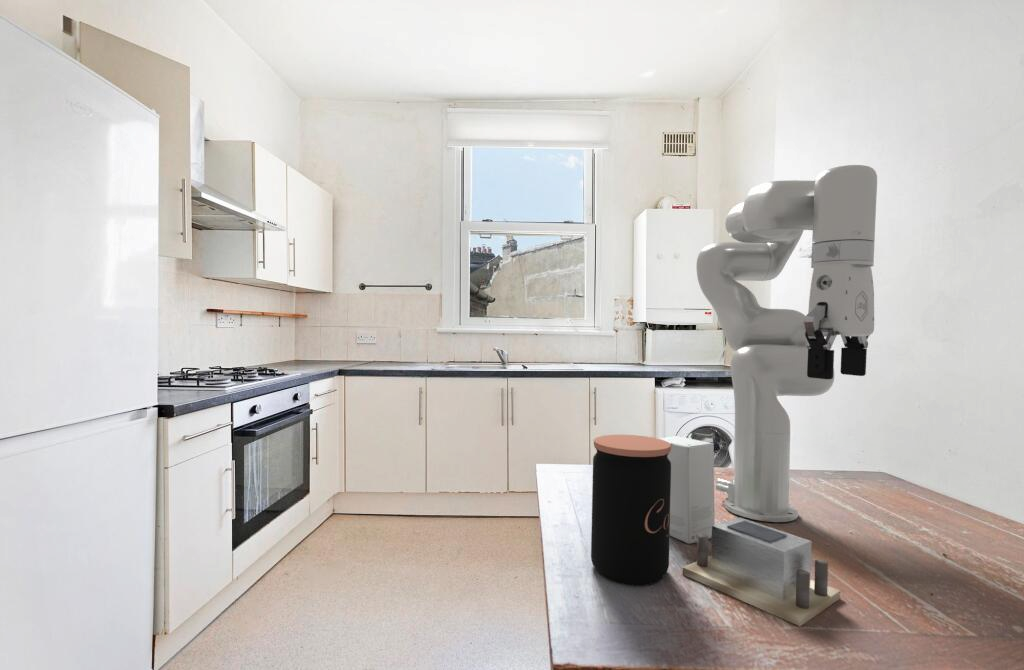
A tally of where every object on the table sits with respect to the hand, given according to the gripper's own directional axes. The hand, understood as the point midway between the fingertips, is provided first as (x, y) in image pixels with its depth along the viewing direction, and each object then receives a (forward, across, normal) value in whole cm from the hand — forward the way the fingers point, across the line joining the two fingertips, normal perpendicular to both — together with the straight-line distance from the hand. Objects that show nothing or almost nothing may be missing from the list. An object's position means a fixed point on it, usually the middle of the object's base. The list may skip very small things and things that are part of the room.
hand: (836, 376), depth 75 cm
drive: (+26, -15, +2) cm, 30 cm away
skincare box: (+28, -8, +19) cm, 35 cm away
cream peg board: (+27, -15, +2) cm, 31 cm away
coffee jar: (+28, -26, +14) cm, 41 cm away
